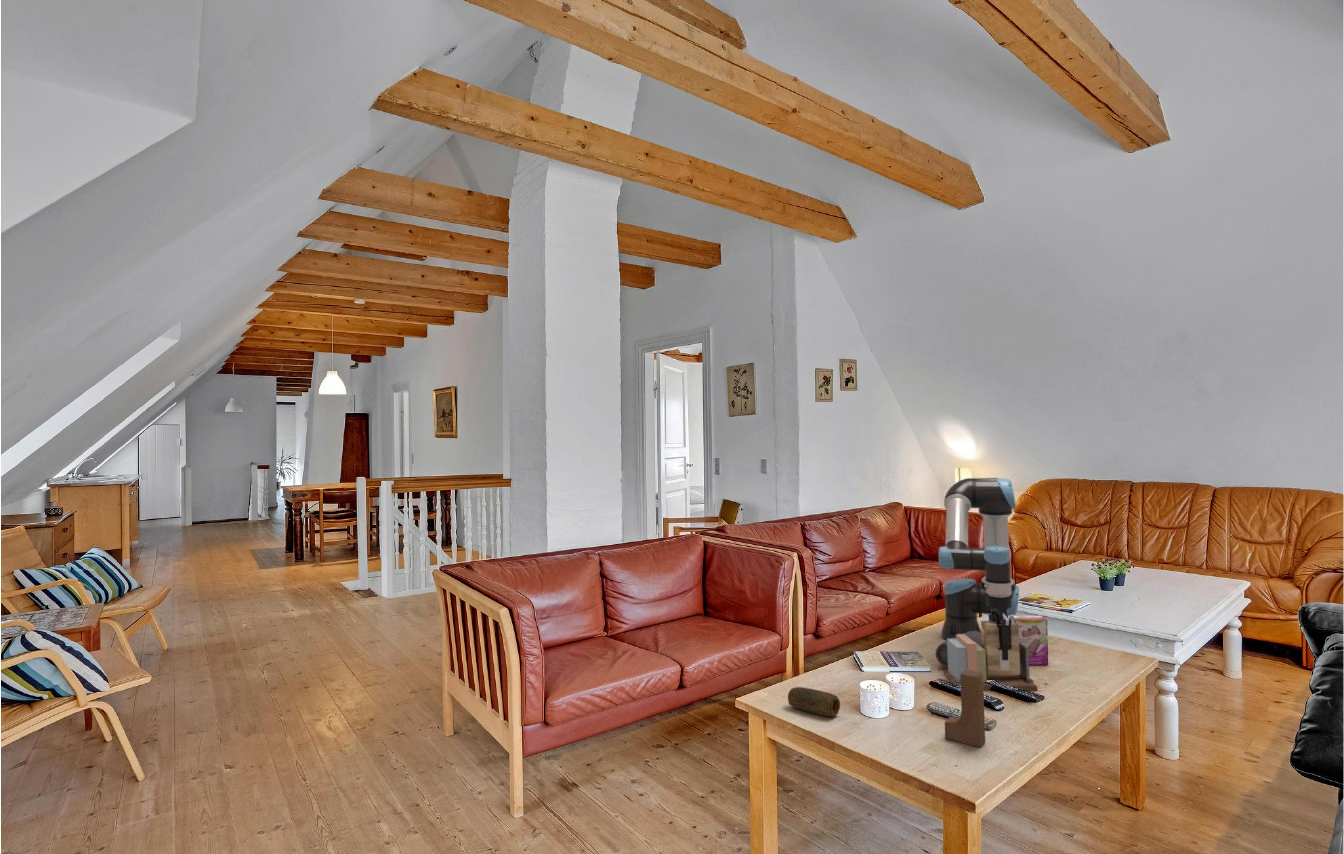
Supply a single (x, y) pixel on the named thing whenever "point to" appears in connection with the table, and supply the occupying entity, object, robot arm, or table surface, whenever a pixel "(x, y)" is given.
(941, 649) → the bluetooth speaker
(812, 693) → the portable cylindrical speaker
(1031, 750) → the table surface
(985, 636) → the tan rectangular block
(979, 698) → the wooden block
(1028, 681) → the bookend
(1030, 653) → the candy bar box
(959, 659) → the book row
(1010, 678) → the shelf
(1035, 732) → the table surface
